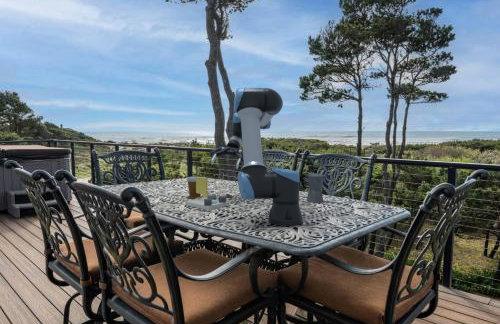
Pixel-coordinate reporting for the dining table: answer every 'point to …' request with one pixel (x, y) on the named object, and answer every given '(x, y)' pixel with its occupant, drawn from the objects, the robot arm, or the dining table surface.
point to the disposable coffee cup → (192, 187)
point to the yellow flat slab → (203, 188)
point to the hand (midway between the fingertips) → (224, 164)
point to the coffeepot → (314, 186)
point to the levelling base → (201, 204)
